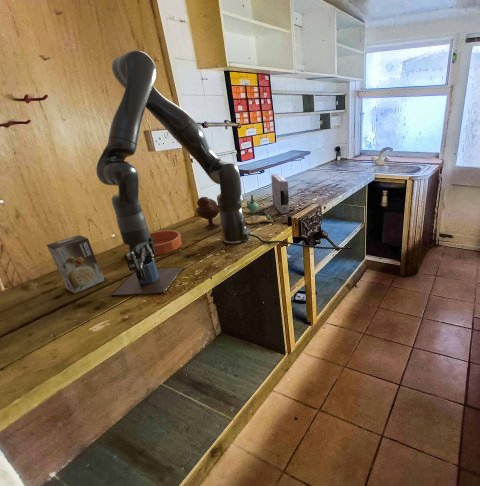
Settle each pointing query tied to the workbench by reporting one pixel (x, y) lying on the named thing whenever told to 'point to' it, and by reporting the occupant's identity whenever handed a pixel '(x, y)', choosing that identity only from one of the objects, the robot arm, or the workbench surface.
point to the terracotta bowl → (166, 241)
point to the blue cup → (149, 271)
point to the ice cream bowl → (207, 210)
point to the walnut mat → (157, 287)
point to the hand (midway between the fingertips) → (147, 273)
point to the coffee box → (76, 263)
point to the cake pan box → (280, 193)
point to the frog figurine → (255, 219)
